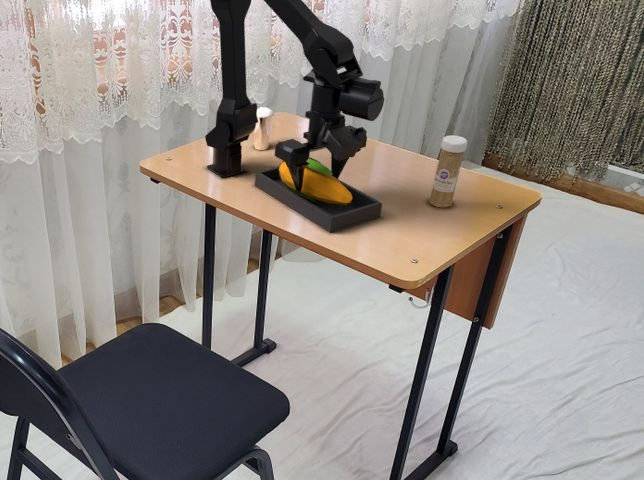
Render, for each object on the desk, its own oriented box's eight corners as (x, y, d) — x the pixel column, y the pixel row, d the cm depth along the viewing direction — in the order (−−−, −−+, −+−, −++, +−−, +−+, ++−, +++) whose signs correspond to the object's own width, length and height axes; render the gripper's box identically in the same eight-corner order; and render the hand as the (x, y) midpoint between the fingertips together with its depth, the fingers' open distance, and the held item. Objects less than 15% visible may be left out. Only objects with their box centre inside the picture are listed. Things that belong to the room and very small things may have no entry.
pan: (254, 185, 155) (255, 172, 154) (301, 173, 160) (303, 160, 159) (329, 232, 138) (331, 218, 137) (380, 217, 143) (382, 203, 142)
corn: (298, 142, 153) (369, 174, 139) (296, 176, 157) (365, 210, 144) (270, 152, 150) (340, 186, 136) (270, 187, 154) (337, 222, 141)
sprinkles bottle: (427, 206, 147) (441, 141, 139) (430, 197, 151) (444, 133, 143) (451, 210, 146) (466, 144, 138) (453, 200, 149) (468, 136, 141)
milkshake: (246, 144, 174) (249, 102, 168) (268, 143, 174) (272, 101, 168) (250, 151, 170) (252, 108, 164) (273, 150, 171) (276, 107, 165)
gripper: (314, 130, 129) (305, 212, 138) (392, 112, 136) (379, 190, 146) (276, 112, 136) (269, 190, 146) (352, 95, 144) (342, 170, 153)
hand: (316, 185), depth 147 cm, fingers open, 9 cm apart
